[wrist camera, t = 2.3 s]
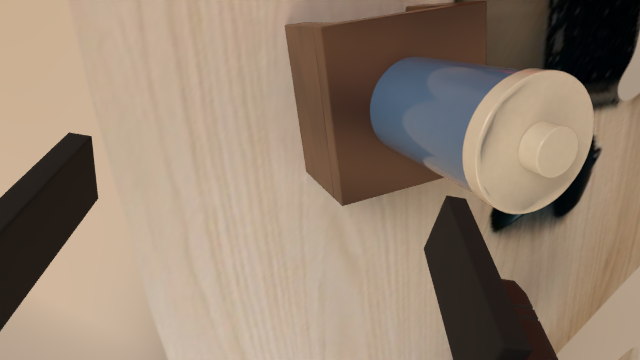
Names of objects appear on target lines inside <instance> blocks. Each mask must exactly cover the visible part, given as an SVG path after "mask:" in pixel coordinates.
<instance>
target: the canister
mask: <svg viewBox="0 0 640 360" xmlns="http://www.w3.org/2000/svg"><path fill="white" fill-rule="evenodd" d="M370 118H371V124H372V127H373V130H374V132H375V134H376V135H377V137H378V138H379V140H380V141H381V142H382V143H383V144H384V145H386V146H387V147H388V148H390V149H392V150H394V151H396V152H398V153H399V154H401V155H403V156H405V157H407V158H409V159H411V160H413V161H414V162H416V163H418V164H420V165H422V166H424V167H426V168H428V169H430V170H431V171H433V172H435V173H437V174H439V175H441V176H443V177H445V178H446V179H448V180H450V181H452V182H454V183H456V184H458V185H460V186H461V187H463V188H465V189H467V190H469V191H471V192H473V193H474V194H475V195H476V196H477V197H478V198H479V199H481V200H482V201H483V202H485V203H487V204H489V205H491V206H492V207H494V208H496V209H498V210H500V211H502V212H505V213H510V214H524V213H529V212H533V211H536V210H538V209H541V208H543V207H544V206H546V205H548V204H550V203H551V202H552V201H554V200H555V199H556V198H558V197H559V196H560V195H561V194H562V193H563V192H564V191H565V190H566V189H567V188H568V187H569V185H570V184H571V183H572V182H573V180H574V179H575V178H576V176H577V174H578V173H579V171H580V170H581V168H582V166H583V164H584V162H585V159H586V157H587V155H588V152H589V149H590V146H591V142H592V137H593V130H594V112H593V107H592V102H591V99H590V96H589V94H588V92H587V90H586V89H585V87H584V86H583V85H582V83H581V82H580V81H578V80H577V79H576V78H575V77H573V76H572V75H570V74H568V73H565V72H563V71H557V70H550V69H541V68H531V69H526V70H523V69H515V68H508V67H500V66H493V65H485V64H478V63H470V62H462V61H455V60H447V59H440V58H432V57H425V56H412V57H408V58H405V59H402V60H400V61H398V62H397V63H395V64H393V65H392V66H391V67H390V68H389V69H388V70H387V71H386V72H385V73H384V74H383V75H382V77H381V78H380V79H379V81H378V83H377V84H376V87H375V89H374V91H373V95H372V98H371V103H370Z"/></svg>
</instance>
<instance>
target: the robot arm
mask: <svg viewBox="0 0 640 360" xmlns="http://www.w3.org/2000/svg"><path fill="white" fill-rule="evenodd" d="M97 199H98V193H97V184H96V174H95V165H94V156H93V146H92V137H91V136H87V135H81V134H74V133H68V134H67V135H66V136H65V137H64V138H63V139H62V140H61V141H60V142H59V143H58V144H56V145H55V146H54V147H53V148H52V149H51V150H50V151H49V152H48V153H47V154H46V155H45V156H44V157H43V158H42V159H41V160H40V161H39V162H37V163H36V164H35V165H34V166H33V167H32V168H31V169H30V170H29V171H28V172H27V173H26V174H25V175H24V176H23V177H22V178H21V179H20V180H19V181H17V182H16V183H15V184H14V185H13V186H12V187H11V188H10V189H9V190H8V191H7V192H6V193H5V194H4V195H3V196H2V197H1V198H0V331H1V329H2V328H3V327H4V325H5V324H6V323H7V321H8V320H9V319H10V317H11V316H12V314H13V313H14V312H15V310H16V309H17V308H18V306H19V305H20V304H21V302H22V301H23V299H24V298H25V297H26V296H27V294H28V293H29V291H30V290H31V289H32V287H33V286H34V285H35V283H36V282H37V281H38V279H39V278H40V276H41V275H42V274H43V272H44V271H45V270H46V268H47V267H48V266H49V264H50V263H51V262H52V260H53V259H54V258H55V256H56V255H57V253H58V252H59V251H60V249H61V248H62V246H63V245H64V244H65V243H66V241H67V240H68V238H69V237H70V236H71V234H72V233H73V232H74V230H75V229H76V228H77V226H78V225H79V224H80V222H81V221H82V220H83V218H84V217H85V215H86V214H87V213H88V211H89V210H90V209H91V207H92V206H93V205H94V203H95V202H96V201H97ZM424 252H425V255H426V259H427V263H428V267H429V270H430V274H431V278H432V282H433V285H434V289H435V293H436V296H437V300H438V304H439V308H440V311H441V315H442V319H443V323H444V326H445V330H446V334H447V338H448V341H449V345H450V349H451V353H452V356H453V360H558V358H557V357H556V354H555V352H554V350H553V348H552V346H551V344H550V342H549V340H548V338H547V336H546V333H545V331H544V329H543V327H542V325H541V323H540V321H538V317H537V315H536V313H535V311H534V310H533V309H532V308H533V307H532V305H531V303H530V301H529V299H528V297H527V295H526V293H525V292H524V291H523V290H522V289H521V288H520V287H519V285H518V284H517V283H516V282H515V281H511V280H505V279H501V277H500V275H499V273H498V270H497V268H496V266H495V264H494V261H493V259H492V257H491V255H490V252H489V250H488V248H487V246H486V243H485V241H484V239H483V237H482V234H481V232H480V230H479V228H478V225H477V223H476V221H475V219H474V216H473V214H472V212H471V210H470V207H469V205H468V203H467V201H466V199H464V198H458V197H452V196H446V198H445V200H444V203H443V205H442V207H441V210H440V212H439V214H438V217H437V219H436V221H435V224H434V226H433V228H432V231H431V233H430V235H429V238H428V240H427V242H426V245H425V247H424Z"/></svg>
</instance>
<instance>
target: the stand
mask: <svg viewBox="0 0 640 360" xmlns="http://www.w3.org/2000/svg"><path fill="white" fill-rule="evenodd" d="M486 10H487V2H486V1H473V2H456V3H438V4H421V5H415V6H408V7H406V12H403V13H396V14H390V15H384V16H377V17H371V18H364V19H358V20H352V21H345V22H339V23H297V24H291V25H285V31H286V38H287V44H288V51H289V58H290V65H291V71H292V78H293V85H294V91H295V98H296V105H297V111H298V118H299V125H300V132H301V138H302V145H303V152H304V158H305V165H306V172H307V173H308V174H309V175H310V176H312V177H313V178H314V179H315V180H316V181H317V182H318V183H319V184H320V185H321V186H322V187H323V188H324V189H325V190H326V191H327V192H328V193H329V194H330V195H331V196H332V197H333V198H335V199H336V200H337V201H338V202H339V203H340V204H341V205H342V206H344V205H348V204H351V203H355V202H358V201H362V200H366V199H369V198H373V197H376V196H380V195H383V194H387V193H390V192H394V191H398V190H401V189H405V188H408V187H412V186H415V185H419V184H423V183H426V182H430V181H433V180H437V179H440V178H444V177H443V176H441V175H439V174H437V173H435V172H433V171H431V170H430V169H428V168H426V167H424V166H422V165H420V164H418V163H416V162H414V161H413V160H411V159H409V158H407V157H405V156H403V155H401V154H399V153H398V152H396V151H394V150H392V149H390V148H388V147H387V146H386V145H384V144H383V143H382V142H381V141H380V140H379V138H378V137H377V135H376V134H375V132H374V130H373V127H372V124H371V118H370V103H371V98H372V95H373V91H374V89H375V87H376V84H377V83H378V81H379V79H380V78H381V77H382V75H383V74H384V73H385V72H386V71H387V70H388V69H389V68H390V67H391V66H392V65H393V64H395V63H397V62H398V61H400V60H402V59H405V58H408V57H412V56H425V57H432V58H440V59H447V60H455V61H462V62H470V63H478V64H485V65H486Z"/></svg>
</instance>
